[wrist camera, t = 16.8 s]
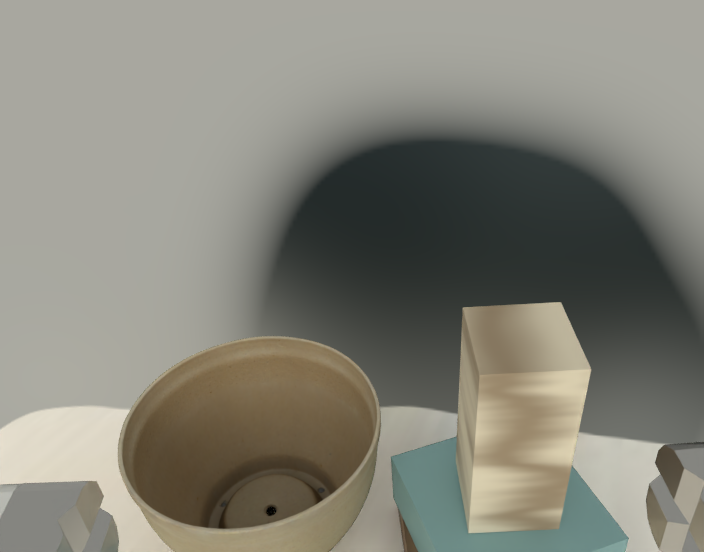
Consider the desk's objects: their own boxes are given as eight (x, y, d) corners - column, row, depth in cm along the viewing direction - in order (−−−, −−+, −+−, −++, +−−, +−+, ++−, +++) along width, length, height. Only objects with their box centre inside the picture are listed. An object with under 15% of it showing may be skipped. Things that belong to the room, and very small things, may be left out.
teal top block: (527, 455, 46) (531, 413, 44) (617, 581, 38) (628, 538, 36) (393, 497, 44) (391, 456, 41) (458, 641, 36) (459, 599, 33)
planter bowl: (153, 669, 39) (101, 560, 33) (165, 462, 52) (129, 358, 46) (415, 608, 41) (410, 494, 35) (362, 423, 54) (352, 318, 48)
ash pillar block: (536, 457, 40) (560, 302, 34) (558, 529, 36) (591, 369, 29) (455, 461, 41) (462, 307, 34) (468, 533, 36) (479, 374, 30)
